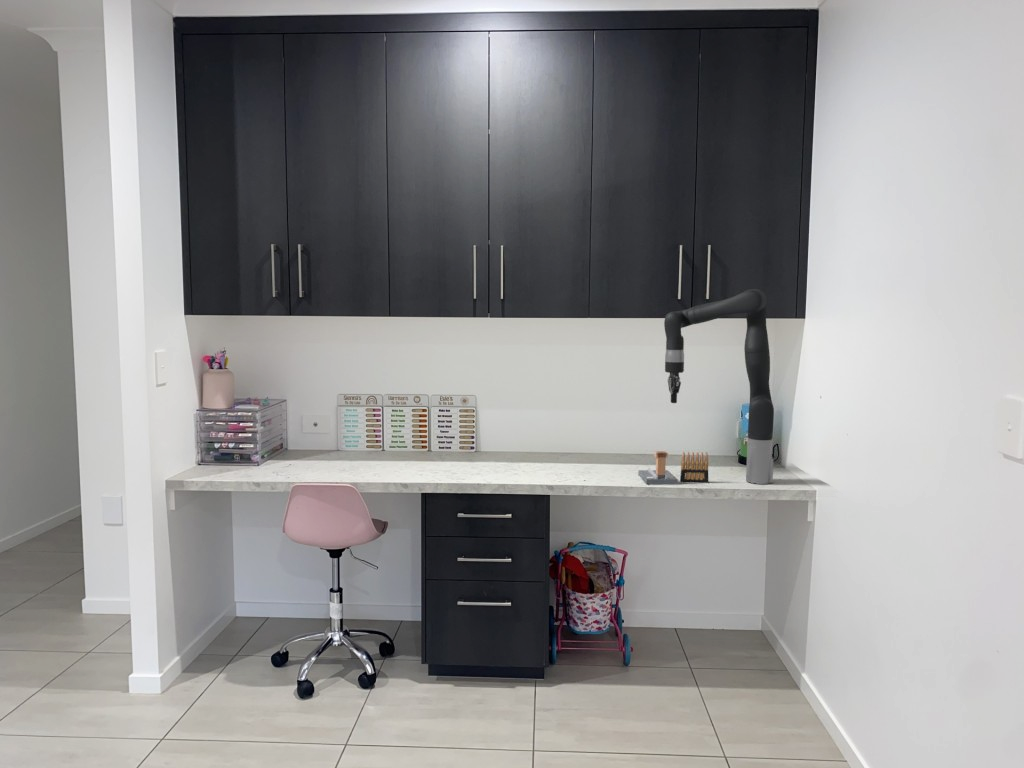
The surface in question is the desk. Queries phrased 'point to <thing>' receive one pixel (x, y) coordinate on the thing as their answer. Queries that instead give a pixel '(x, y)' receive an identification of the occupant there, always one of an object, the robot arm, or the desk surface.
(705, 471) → the ammunition clip
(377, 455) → the desk surface
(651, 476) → the fader console
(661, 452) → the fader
